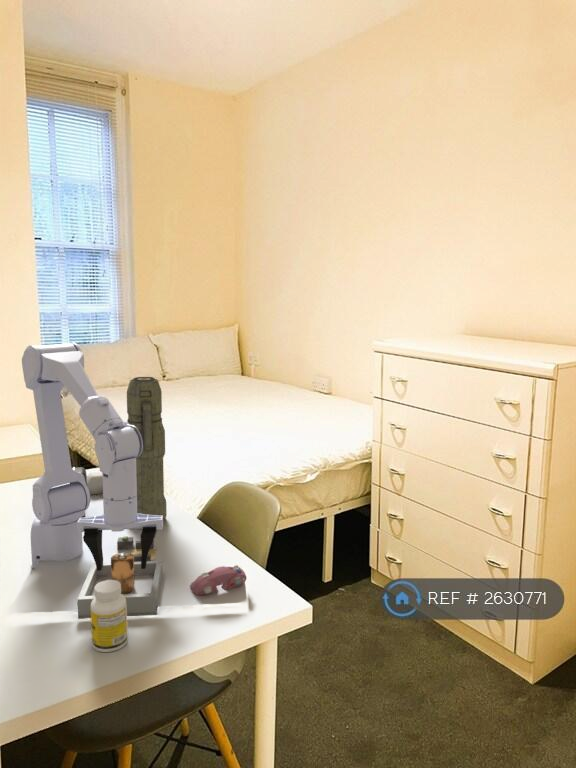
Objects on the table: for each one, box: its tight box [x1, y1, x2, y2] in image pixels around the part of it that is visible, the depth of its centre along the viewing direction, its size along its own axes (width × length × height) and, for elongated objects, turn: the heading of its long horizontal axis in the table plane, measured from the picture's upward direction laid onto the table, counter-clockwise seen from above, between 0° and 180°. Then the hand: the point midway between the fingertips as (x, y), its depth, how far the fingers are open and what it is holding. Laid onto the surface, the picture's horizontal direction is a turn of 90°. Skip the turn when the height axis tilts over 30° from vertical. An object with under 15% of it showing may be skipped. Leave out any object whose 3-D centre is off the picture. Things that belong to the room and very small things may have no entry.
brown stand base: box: [116, 535, 157, 562], centre depth 121 cm, size 12×10×4 cm
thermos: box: [126, 376, 168, 525], centre depth 135 cm, size 9×12×35 cm
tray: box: [76, 560, 164, 619], centre depth 108 cm, size 13×13×4 cm
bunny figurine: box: [87, 471, 103, 495], centre depth 160 cm, size 10×5×15 cm
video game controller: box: [189, 565, 247, 596], centre depth 109 cm, size 10×5×7 cm, turn 119°
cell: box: [110, 552, 135, 594], centre depth 107 cm, size 4×4×8 cm
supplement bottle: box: [90, 579, 129, 653], centre depth 93 cm, size 5×5×10 cm
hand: (122, 567), depth 107 cm, fingers open, 7 cm apart
